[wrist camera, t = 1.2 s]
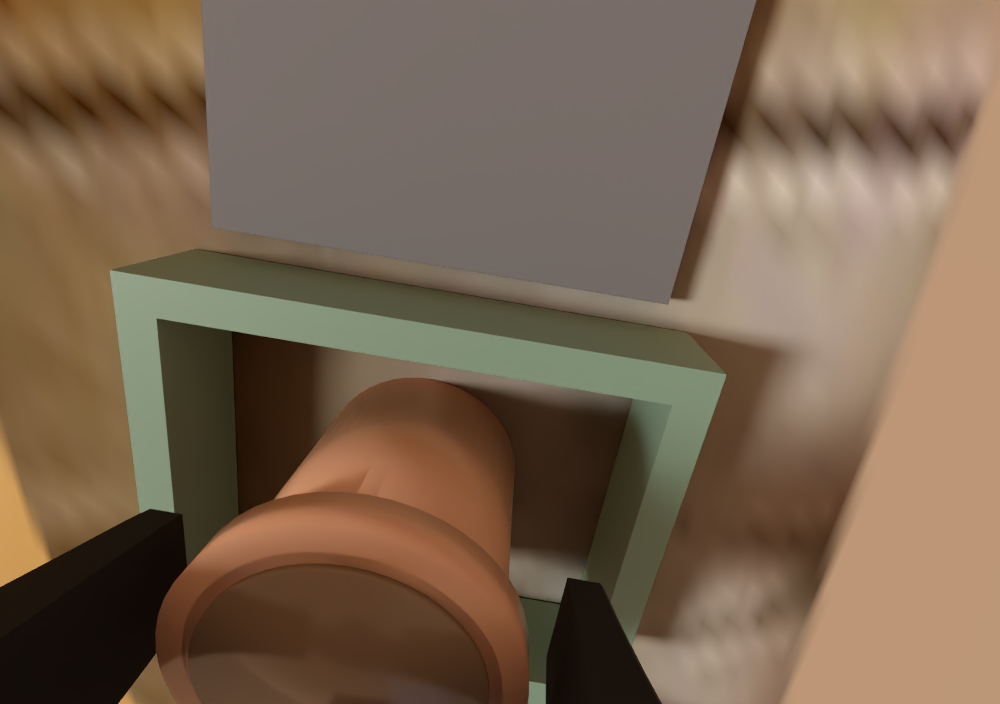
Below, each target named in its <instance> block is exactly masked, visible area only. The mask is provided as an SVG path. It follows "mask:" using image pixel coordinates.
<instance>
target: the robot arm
mask: <svg viewBox="0 0 1000 704" xmlns="http://www.w3.org/2000/svg"><path fill="white" fill-rule="evenodd" d="M186 568H187V559H186V547H185V536H184V525H183V514H179V513H173V512H167V511H161V510H155V509H148V510H146V511H144V512H142V513H140V514H138V515H136V516H134V517H132V518H130V519H128V520H126V521H124V522H122V523H121V524H119V525H117V526H115V527H113V528H111V529H109V530H107V531H105V532H103V533H102V534H100V535H98V536H96V537H94V538H92V539H90V540H89V541H87V542H85V543H83V544H81V545H79V546H77V547H75V548H74V549H72V550H70V551H68V552H66V553H64V554H62V555H61V556H59V557H57V558H55V559H53V560H51V561H49V562H47V563H45V564H43V565H42V566H40V567H38V568H36V569H34V570H32V571H30V572H28V573H26V574H24V575H23V576H21V577H19V578H17V579H15V580H13V581H11V582H10V583H7V584H5V585H4V586H2V587H0V704H118V703H119V702H120V700H121V699H122V698H123V696H124V695H125V694H126V693H127V691H128V690H129V689H130V687H131V686H132V685H133V683H134V682H135V681H136V679H137V678H138V677H139V675H140V674H141V673H142V671H143V670H144V669H145V667H146V666H147V665H148V663H149V662H150V661H151V659H152V658H153V657H154V655H155V654H156V637H155V631H156V625H157V618H158V614H159V611H160V608H161V606H162V603H163V600H164V598H165V596H166V594H167V593H168V591H169V590H170V588H171V586H172V585H173V583H174V582H175V581H176V579H177V578H178V577H179V576H180V575H181V574H182V572H183V571H184V570H185V569H186ZM546 704H662V703H661V701H660V700H659V698H658V696H657V694H656V692H655V690H654V689H653V687H652V685H651V683H650V681H649V679H648V678H647V676H646V674H645V672H644V670H643V668H642V666H641V664H640V662H639V660H638V658H637V656H636V654H635V652H634V650H633V648H632V646H631V644H630V642H629V640H628V638H627V636H626V634H625V632H624V630H623V628H622V626H621V624H620V622H619V620H618V618H617V615H616V613H615V611H614V609H613V607H612V605H611V603H610V600H609V598H608V596H607V594H606V592H605V589H604V588H603V586H602V585H601V584H600V583H597V582H591V581H584V580H578V579H572V578H567V582H566V585H565V589H564V593H563V596H562V600H561V604H560V608H559V611H558V615H557V619H556V622H555V626H554V630H553V633H552V637H551V641H550V644H549V648H548V652H547V656H546Z"/></svg>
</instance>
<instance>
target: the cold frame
mask: <svg viewBox="0 0 1000 704" xmlns="http://www.w3.org/2000/svg"><path fill="white" fill-rule="evenodd" d="M110 275H111V283H112V292H113V300H114V308H115V316H116V324H117V332H118V340H119V348H120V356H121V364H122V372H123V380H124V388H125V397H126V405H127V413H128V421H129V429H130V437H131V445H132V453H133V461H134V469H135V477H136V485H137V494H138V502H139V510H140V513H142V512H144V511H146V510H148V509H155V510H161V511H167V512H173V513H179V514H183V525H184V536H185V547H186V559H187V567H188V565H189V564H190V563H191V562H192V561H193V560H194V558H195V557H196V556H197V555H198V554H199V553H200V551H201V550H202V549H203V548H204V547H205V546H206V544H207V543H208V542H209V541H210V540H211V539H212V538H213V537H214V535H215V534H216V533H217V532H218V531H219V530H220V529H221V528H222V527H224V526H225V525H226V524H228V523H229V522H230V521H231V520H233V519H234V518H235V517H237V516H239V512H238V484H237V457H236V430H235V403H234V375H233V348H232V331H235V332H241V333H247V334H253V335H258V336H264V337H270V338H276V339H282V340H288V341H294V342H300V343H306V344H312V345H318V346H324V347H330V348H335V349H341V350H347V351H353V352H359V353H365V354H371V355H377V356H383V357H389V358H395V359H401V360H407V361H412V362H418V363H424V364H430V365H436V366H442V367H448V368H454V369H460V370H466V371H472V372H478V373H484V374H489V375H495V376H501V377H507V378H513V379H519V380H525V381H531V382H537V383H543V384H549V385H555V386H561V387H566V388H572V389H578V390H584V391H590V392H596V393H602V394H608V395H614V396H620V397H626V398H632V399H633V400H632V404H631V407H630V411H629V414H628V418H627V422H626V425H625V429H624V432H623V436H622V439H621V443H620V446H619V450H618V453H617V457H616V460H615V464H614V467H613V471H612V475H611V478H610V482H609V485H608V489H607V492H606V496H605V499H604V503H603V506H602V510H601V513H600V517H599V521H598V524H597V528H596V531H595V535H594V538H593V542H592V545H591V549H590V552H589V556H588V559H587V563H586V567H585V570H584V574H583V577H582V580H584V581H591V582H597V583H600V584H601V585H602V586H603V588H604V589H605V592H606V594H607V596H608V598H609V600H610V603H611V605H612V607H613V609H614V611H615V613H616V615H617V618H618V620H619V622H620V624H621V626H622V628H623V630H624V632H625V634H626V636H627V638H628V640H629V642H630V644H631V646H632V643H633V641H634V638H635V635H636V632H637V629H638V626H639V624H640V621H641V618H642V615H643V612H644V609H645V606H646V604H647V601H648V598H649V595H650V592H651V589H652V587H653V584H654V581H655V578H656V575H657V572H658V569H659V567H660V564H661V561H662V558H663V555H664V552H665V549H666V547H667V544H668V541H669V538H670V535H671V532H672V530H673V527H674V524H675V521H676V518H677V515H678V512H679V510H680V507H681V504H682V501H683V498H684V495H685V493H686V490H687V487H688V484H689V481H690V478H691V475H692V473H693V470H694V467H695V464H696V461H697V458H698V456H699V453H700V450H701V447H702V444H703V441H704V438H705V436H706V433H707V430H708V427H709V424H710V421H711V419H712V416H713V413H714V410H715V407H716V404H717V401H718V399H719V396H720V393H721V390H722V387H723V384H724V382H725V379H726V376H727V374H726V373H725V372H724V371H723V370H722V369H721V368H720V367H719V366H718V364H717V363H716V362H715V361H714V360H713V359H712V358H711V357H710V356H709V355H708V354H707V353H706V352H705V351H704V350H703V349H702V348H701V346H700V345H699V344H698V343H697V342H696V341H695V340H694V339H693V338H692V337H691V336H690V335H689V334H688V333H687V332H682V331H676V330H670V329H664V328H658V327H652V326H646V325H640V324H634V323H629V322H623V321H617V320H611V319H605V318H599V317H593V316H587V315H581V314H575V313H569V312H564V311H558V310H552V309H546V308H540V307H534V306H528V305H522V304H516V303H510V302H504V301H499V300H493V299H487V298H481V297H475V296H469V295H463V294H457V293H451V292H445V291H439V290H434V289H428V288H422V287H416V286H410V285H404V284H398V283H392V282H386V281H380V280H374V279H368V278H363V277H357V276H351V275H345V274H339V273H333V272H327V271H321V270H315V269H309V268H303V267H298V266H292V265H286V264H280V263H274V262H268V261H262V260H256V259H250V258H244V257H238V256H233V255H227V254H221V253H215V252H209V251H203V250H197V249H194V250H190V251H186V252H182V253H177V254H173V255H169V256H165V257H161V258H157V259H153V260H149V261H145V262H141V263H137V264H133V265H129V266H125V267H121V268H117V269H113V270H110ZM520 601H521V603H522V606H523V609H524V611H525V614H526V619H527V624H528V629H529V698H528V704H546V656H547V652H548V648H549V644H550V641H551V637H552V633H553V630H554V626H555V622H556V619H557V615H558V611H559V608H560V604H555V603H549V602H543V601H537V600H531V599H525V598H520Z"/></svg>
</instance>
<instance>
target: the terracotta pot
mask: <svg viewBox="0 0 1000 704" xmlns="http://www.w3.org/2000/svg"><path fill="white" fill-rule="evenodd" d="M513 487H514V455H513V450H512V446H511V443H510V440H509V437H508V435H507V433H506V431H505V429H504V427H503V426H502V424H501V423H500V421H499V420H498V418H497V417H496V416H495V415H494V414H493V412H492V411H491V410H490V409H489V408H488V407H487V406H486V405H484V404H483V403H482V402H481V401H480V400H478V399H477V398H475V397H474V396H472V395H471V394H469V393H468V392H466V391H464V390H462V389H460V388H458V387H456V386H453V385H450V384H447V383H445V382H441V381H436V380H432V379H423V378H402V379H395V380H390V381H387V382H383V383H380V384H377V385H375V386H373V387H370V388H368V389H367V390H365V391H363V392H362V393H360V394H359V395H357V396H356V397H355V398H354V399H353V400H351V401H350V402H349V403H348V404H347V406H346V407H345V408H344V409H343V410H342V411H341V413H340V414H339V415H338V417H337V418H336V419H335V420H334V422H333V423H332V424H331V426H330V427H329V428H328V430H327V431H326V432H325V433H324V435H323V436H322V437H321V439H320V440H319V441H318V443H317V444H316V445H315V446H314V448H313V449H312V450H311V452H310V453H309V454H308V455H307V457H306V458H305V459H304V461H303V462H302V463H301V465H300V466H299V467H298V468H297V470H296V471H295V472H294V474H293V475H292V476H291V477H290V479H289V480H288V481H287V483H286V484H285V485H284V487H283V488H282V489H281V490H280V492H279V493H278V494H277V496H276V497H275V498H274V500H271V501H269V502H266V503H264V504H261V505H258V506H256V507H253V508H251V509H249V510H248V511H246V512H244V513H242V514H241V515H239V516H237V517H235V518H234V519H233V520H231V521H230V522H229V523H228V524H226V525H225V526H224V527H222V528H221V529H220V530H219V531H218V532H217V533H216V534H215V535H214V537H213V538H212V539H211V540H210V541H209V542H208V543H207V544H206V546H205V547H204V548H203V549H202V550H201V551H200V553H199V554H198V555H197V556H196V557H195V558H194V560H193V561H192V562H191V563H190V564H189V565H188V567H187V568H186V569H185V570H184V571H183V572H182V574H181V575H180V576H179V577H178V578H177V579H176V581H175V582H174V583H173V585H172V586H171V588H170V590H169V591H168V593H167V594H166V596H165V598H164V600H163V603H162V606H161V608H160V611H159V614H158V618H157V625H156V631H155V637H156V652H157V657H158V662H159V667H160V669H161V672H162V675H163V677H164V680H165V682H166V685H167V687H168V688H169V690H170V692H171V694H172V695H173V697H174V699H175V701H176V702H177V703H178V704H528V698H529V629H528V624H527V619H526V614H525V611H524V609H523V606H522V603H521V601H520V598H519V595H518V594H517V592H516V590H515V588H514V587H513V585H512V583H511V581H510V580H509V564H510V545H511V526H512V506H513Z"/></svg>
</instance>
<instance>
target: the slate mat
mask: <svg viewBox="0 0 1000 704" xmlns="http://www.w3.org/2000/svg"><path fill="white" fill-rule="evenodd" d="M755 3H756V0H201V5H202V26H203V47H204V68H205V89H206V110H207V131H208V151H209V172H210V193H211V214H212V227H213V228H219V229H224V230H230V231H236V232H242V233H248V234H254V235H260V236H266V237H272V238H278V239H284V240H289V241H295V242H301V243H307V244H313V245H319V246H325V247H331V248H337V249H343V250H349V251H354V252H360V253H366V254H372V255H378V256H384V257H390V258H396V259H402V260H408V261H414V262H419V263H425V264H431V265H437V266H443V267H449V268H455V269H461V270H467V271H473V272H478V273H484V274H490V275H496V276H502V277H508V278H514V279H520V280H526V281H532V282H538V283H543V284H549V285H555V286H561V287H567V288H573V289H579V290H585V291H591V292H597V293H603V294H608V295H614V296H620V297H626V298H632V299H638V300H644V301H650V302H656V303H662V304H669V301H670V297H671V294H672V290H673V287H674V283H675V280H676V276H677V273H678V270H679V266H680V263H681V259H682V256H683V252H684V249H685V245H686V242H687V238H688V235H689V231H690V228H691V225H692V221H693V218H694V214H695V211H696V207H697V204H698V200H699V197H700V193H701V190H702V187H703V183H704V180H705V176H706V173H707V169H708V166H709V162H710V159H711V155H712V152H713V149H714V145H715V142H716V138H717V135H718V131H719V128H720V124H721V121H722V117H723V114H724V111H725V107H726V104H727V100H728V97H729V93H730V90H731V86H732V83H733V79H734V76H735V72H736V69H737V66H738V62H739V59H740V55H741V52H742V48H743V45H744V41H745V38H746V34H747V31H748V28H749V24H750V21H751V17H752V14H753V10H754V7H755Z"/></svg>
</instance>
